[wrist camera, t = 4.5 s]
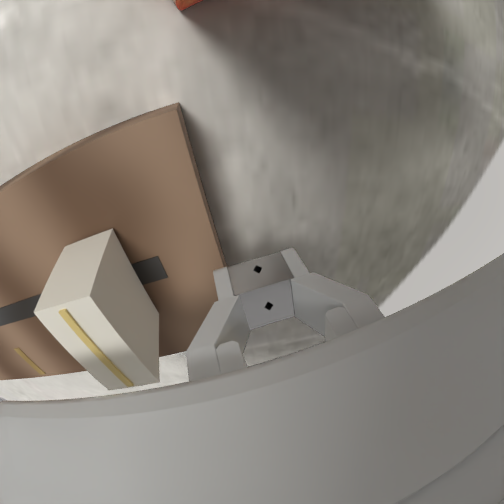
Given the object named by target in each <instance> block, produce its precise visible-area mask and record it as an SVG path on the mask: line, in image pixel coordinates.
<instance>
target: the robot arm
mask: <svg viewBox="0 0 504 504" xmlns="http://www.w3.org/2000/svg"><path fill="white" fill-rule="evenodd" d="M227 268H228V269H227ZM213 275H214V280H215V285H216V291H217V296H218V301H216V302H214V304H213V306H212V307H211V309H210V311H209V313H208V314H207V316H206V318H205V320H204V321H203V323H202V325H201V327H200V328H199V330H198V332H197V334H196V335H195V337H194V339H193V341H192V342H191V344H190V346H189V348H188V349H187V351H186V355H187V366H188V376H189V382H184V383H180V384H175V385H170V386H164V387H159V388H154V389H148V390H142V391H136V392H129V393H122V394H115V395H107V396H98V397H89V398H78V399H64V400H46V401H1V402H0V504H504V254H502V255H500V256H499V257H497V258H496V259H494V260H493V261H491V262H489V263H488V264H486V265H485V266H483V267H481V268H480V269H478V270H476V271H475V272H473V273H471V274H469V275H468V276H466V277H464V278H463V279H461V280H459V281H457V282H455V283H454V284H452V285H450V286H448V287H446V288H444V289H442V290H441V291H439V292H437V293H435V294H433V295H431V296H429V297H427V298H425V299H423V300H421V301H419V302H417V303H415V304H413V305H411V306H409V307H407V308H405V309H403V310H400V311H398V312H396V313H394V314H392V315H389V316H387V317H384V316H383V314H382V313H381V312H380V310H379V309H378V307H377V306H376V304H375V303H374V302H373V300H372V299H371V298H370V296H369V295H368V294H366V293H363V292H361V291H358V290H356V289H353V288H351V287H349V286H346V285H344V284H341V283H339V282H336V281H334V280H331V279H329V278H327V277H324V276H322V275H319V274H317V273H314V272H312V273H309V271H308V270H307V268H306V266H305V265H304V263H303V262H302V260H301V258H300V257H299V255H298V254H297V252H296V250H295V249H294V248H293V247H291V248H288V249H285V250H282V251H279V252H277V253H274V254H270V255H267V256H264V257H260V258H257V259H253V260H249V261H245V262H241V263H238V264H234V265H230V266H227V267H223V268H220V269H216V270H213ZM294 316H295V317H296V318H297V319H299V320H300V321H302V322H303V323H305V324H306V325H308V326H309V327H311V328H312V329H314V330H315V331H317V332H318V333H320V334H321V335H323V336H325V342H323V343H320V344H318V345H315V346H312V347H309V348H306V349H303V350H300V351H298V352H295V353H292V354H288V355H285V356H282V357H279V358H276V359H273V360H270V361H266V362H263V363H259V364H256V365H253V366H249V367H248V366H247V364H246V361H245V359H244V356H243V352H244V349H245V346H246V343H247V340H248V337H249V334H250V330H252V329H255V328H258V327H261V326H264V325H267V324H270V323H274V322H277V321H281V320H284V319H287V318H291V317H294Z"/></svg>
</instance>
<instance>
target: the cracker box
mask: <svg viewBox="0 0 504 504" xmlns="http://www.w3.org/2000/svg"><path fill="white" fill-rule="evenodd" d="M173 1H174V3H175V4H176V6H177V8H178V9H179V10H181V11H182V10H184V9H186V8H188V7H190V6H192V5H194V4H196V3H198V2H200V1H203V0H173Z"/></svg>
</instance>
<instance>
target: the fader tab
mask: <svg viewBox="0 0 504 504" xmlns="http://www.w3.org/2000/svg"><path fill="white" fill-rule="evenodd" d="M34 314H35V315H36V316H37V317H38V319H39V320H40V321H41V322H42V323H43V325H44V326H45V327H46V328H47V329H48V330H49V332H50V333H51V334H52V335H53V336H54V337H55V338H56V339H57V340H58V342H59V343H60V344H61V345H62V346H63V347H64V348H65V349H66V350H67V351H68V352H69V353H70V354H71V355H72V356H73V357H74V358H75V359H76V360H77V361H78V362H79V363H80V364H81V365H82V366H83V367H84V368H85V369H86V370H87V371H88V372H89V373H90V374H91V375H92V376H93V377H95V378H96V379H97V380H98V381H99V382H100V383H101V384H102V385H103V386H105V387H106V388H107V389H108V390H115V389H122V388H128V387H135V386H141V385H147V384H152V383H158V382H160V379H159V313H158V311H157V309H156V308H155V306H154V304H153V303H152V301H151V299H150V297H149V296H148V294H147V292H146V291H145V289H144V287H143V285H142V284H141V282H140V280H139V278H138V276H137V275H136V273H135V271H134V269H133V267H132V265H131V263H130V262H129V260H128V258H127V256H126V254H125V252H124V250H123V248H122V246H121V244H120V242H119V240H118V238H117V236H116V234H115V232H114V230H113V228H112V229H110V230H107V231H104V232H101V233H99V234H96V235H93V236H91V237H88V238H85V239H83V240H80V241H78V242H75V243H73V244H70V245H68V246H65V247H64V249H63V251H62V253H61V255H60V257H59V258H58V260H57V262H56V264H55V266H54V268H53V270H52V272H51V274H50V277H49V279H48V281H47V283H46V285H45V287H44V289H43V292H42V294H41V296H40V298H39V301H38V303H37V305H36V308H35V310H34Z"/></svg>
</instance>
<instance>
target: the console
mask: <svg viewBox="0 0 504 504" xmlns="http://www.w3.org/2000/svg"><path fill="white" fill-rule="evenodd" d="M112 228H113V230H114V232H115V234H116V236H117V238H118V240H119V242H120V244H121V246H122V248H123V250H124V252H125V254H126V256H127V258H128V260H129V262H130V263H131V265H132V267H133V269H134V271H135V273H136V275H137V276H138V278H139V280H140V282H141V284H142V285H143V287H144V289H145V291H146V292H147V294H148V296H149V297H150V299H151V301H152V303H153V304H154V306H155V308H156V309H157V311H158V313H159V357H162V356H166V355H171V354H175V353H179V352H184V351H187V349H188V348H189V346H190V344H191V342H192V341H193V339H194V337H195V335H196V334H197V332H198V330H199V328H200V327H201V325H202V323H203V321H204V320H205V318H206V316H207V314H208V313H209V311H210V309H211V307H212V306H213V304H214V302H216V301H218V296H217V291H216V285H215V280H214V275H213V270H216V269H220V268H223V267H227V264H226V261H225V258H224V255H223V252H222V248H221V245H220V242H219V239H218V235H217V232H216V229H215V226H214V222H213V219H212V216H211V213H210V209H209V206H208V203H207V199H206V196H205V192H204V189H203V186H202V182H201V179H200V175H199V172H198V168H197V165H196V161H195V158H194V154H193V151H192V147H191V144H190V140H189V137H188V133H187V129H186V126H185V122H184V119H183V115H182V111H181V107H180V104H179V103H175V104H172V105H169V106H166V107H163V108H160V109H157V110H154V111H151V112H148V113H145V114H142V115H139V116H137V117H134V118H131V119H129V120H126V121H124V122H121V123H119V124H116V125H114V126H111V127H109V128H106V129H104V130H102V131H100V132H97V133H95V134H93V135H91V136H88V137H86V138H84V139H82V140H80V141H78V142H76V143H74V144H72V145H70V146H68V147H66V148H64V149H62V150H60V151H58V152H56V153H54V154H52V155H51V156H49V157H47V158H45V159H43V160H42V161H40V162H38V163H36V164H35V165H33V166H31V167H30V168H28V169H26V170H25V171H23V172H21V173H20V174H18V175H17V176H15V177H14V178H12V179H10V180H9V181H7V182H6V183H4V184H3V185H1V186H0V380H10V379H22V378H33V377H43V376H51V375H59V374H67V373H74V372H81V371H87V370H86V369H85V368H84V367H83V366H82V365H81V364H80V363H79V362H78V361H77V360H76V359H75V358H74V357H73V356H72V355H71V354H70V353H69V352H68V351H67V350H66V349H65V348H64V347H63V346H62V345H61V344H60V343H59V342H58V340H57V339H56V338H55V337H54V336H53V335H52V334H51V333H50V332H49V330H48V329H47V328H46V327H45V326H44V325H43V323H42V322H41V321H40V320H39V319H38V317H37V316H36V315H35V314H34V310H35V308H36V305H37V303H38V301H39V298H40V296H41V294H42V292H43V289H44V287H45V285H46V283H47V281H48V279H49V277H50V274H51V272H52V270H53V268H54V266H55V264H56V262H57V260H58V258H59V257H60V255H61V253H62V251H63V249H64V247H65V246H68V245H70V244H73V243H75V242H78V241H80V240H83V239H85V238H88V237H91V236H93V235H96V234H99V233H101V232H104V231H107V230H110V229H112ZM227 269H228V268H227Z"/></svg>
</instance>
